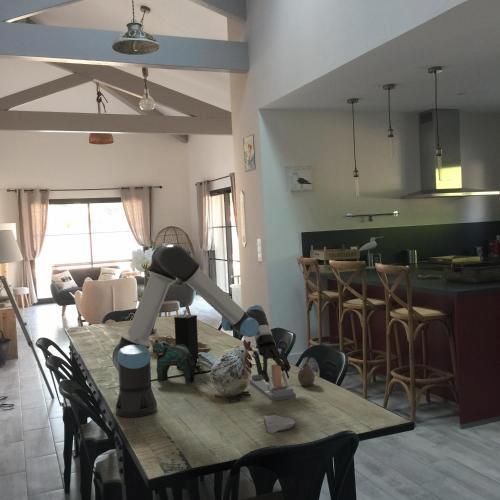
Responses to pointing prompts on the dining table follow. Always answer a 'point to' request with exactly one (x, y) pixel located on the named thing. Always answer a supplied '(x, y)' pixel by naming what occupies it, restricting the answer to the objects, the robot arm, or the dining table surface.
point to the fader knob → (276, 378)
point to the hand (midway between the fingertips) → (280, 387)
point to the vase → (306, 375)
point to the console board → (276, 395)
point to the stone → (277, 423)
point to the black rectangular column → (187, 333)
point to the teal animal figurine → (173, 360)
